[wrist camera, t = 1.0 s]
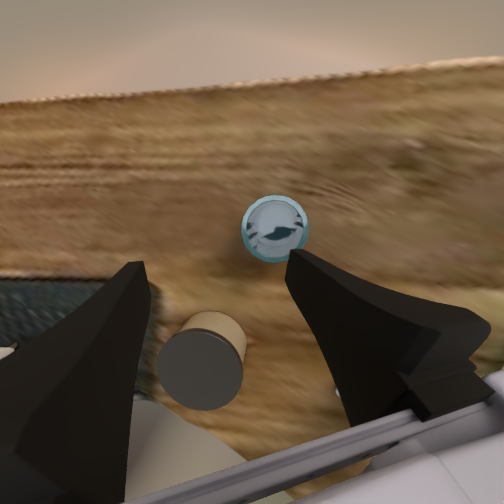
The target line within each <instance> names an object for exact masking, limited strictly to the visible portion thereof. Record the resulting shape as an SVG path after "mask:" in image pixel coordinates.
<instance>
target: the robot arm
mask: <svg viewBox="0 0 504 504" xmlns="http://www.w3.org/2000/svg"><path fill="white" fill-rule="evenodd" d="M285 282H286V284H287V287H288V289H289V292H290V294H291V296H292V298H293V300H294V301H295V303H296V305H297V307H298V308H299V310H300V312H301V313H302V315H303V317H304V318H305V320H306V322H307V323H308V325H309V327H310V328H311V330H312V332H313V334H314V336H315V338H316V340H317V342H318V344H319V346H320V349H321V351H322V353H323V355H324V358H325V360H326V362H327V365H328V367H329V369H330V372H331V374H332V377H333V379H334V382H335V384H336V388H335V393H336V395H337V396H339V397H341V400H342V403H343V406H344V409H345V412H346V414H347V417H348V420H349V423H350V426H351V428H349V429H346V430H343V431H340V432H337V433H333V434H330V435H327V436H324V437H321V438H318V439H315V440H312V441H309V442H306V443H303V444H300V445H297V446H294V447H291V448H288V449H285V450H282V451H279V452H276V453H273V454H270V455H266V456H263V457H260V458H257V459H254V460H251V461H248V462H245V463H242V464H239V465H236V466H233V467H230V468H227V469H224V470H221V471H218V472H215V473H212V474H209V475H206V476H203V477H200V478H196V479H194V480H190V481H187V482H184V483H181V484H178V485H175V486H172V487H169V488H166V489H163V490H160V491H157V492H154V493H151V494H148V495H145V496H142V497H139V498H136V499H133V500H130V501H127V502H124V499H125V498H124V497H125V483H126V471H127V457H128V446H129V435H130V423H131V415H132V406H133V405H132V404H133V396H134V388H135V380H136V373H137V367H138V362H139V357H140V353H141V349H142V344H143V340H144V336H145V332H146V327H147V323H148V318H149V313H150V302H151V293H150V288H149V284H148V280H147V275H146V271H145V267H144V262H143V261H136V262H128V263H127V264H126V265H125V266H124V267H123V268H121V269H120V270H119V271H118V272H117V273H116V274H115V275H114V276H113V277H112V278H111V279H110V280H109V281H108V282H107V283H106V284H105V285H104V286H103V287H101V288H100V289H99V290H98V291H97V292H96V293H95V294H93V295H92V296H91V297H90V298H89V299H88V300H86V301H85V302H84V303H83V304H82V305H80V306H79V307H78V308H77V309H76V310H74V311H73V312H72V313H70V314H69V315H68V316H66V317H65V318H64V319H62V320H61V321H59V322H58V323H57V324H55V325H54V326H53V327H51V328H50V329H48V330H47V331H45V332H44V333H42V334H41V335H39V336H37V337H36V338H34V339H33V340H31V341H30V342H28V343H26V344H25V345H23V346H22V347H20V348H19V349H17V350H15V351H14V352H12V353H11V354H9V355H7V356H6V357H4V358H2V359H0V504H249V503H251V502H254V501H256V500H259V499H262V498H264V497H267V496H270V495H272V494H275V493H278V492H280V491H283V490H286V489H288V488H291V487H293V486H296V485H299V484H301V483H304V482H307V481H309V480H312V479H315V478H317V477H320V476H322V475H325V474H328V473H330V472H333V471H336V470H338V469H341V468H344V467H346V466H349V465H352V464H354V463H357V462H359V461H362V460H365V459H367V458H370V457H373V456H375V455H378V454H379V455H378V456H376V457H374V458H372V459H371V461H370V463H369V465H368V466H367V468H366V469H365V470H364V471H363V472H362V473H361V474H359V475H358V476H356V477H353V478H351V479H348V480H345V481H342V482H339V483H337V484H334V485H332V486H329V487H327V488H324V489H322V490H319V491H317V492H314V493H312V494H309V495H307V496H305V497H302V498H300V499H297V500H295V501H293V502H290V503H288V504H504V369H503V370H500V371H497V372H493V373H490V374H488V375H486V376H484V377H482V378H480V377H479V376H478V375H476V374H475V373H474V372H473V371H474V370H476V369H477V368H476V365H474V364H473V363H472V362H471V361H470V360H469V359H468V358H469V357H470V356H471V355H472V354H473V353H474V352H475V351H476V350H477V349H478V348H479V347H480V346H481V345H482V343H483V342H484V341H485V340H486V339H487V337H488V336H489V334H490V332H491V325H490V324H489V322H487V321H486V320H484V319H483V318H481V317H480V316H478V315H477V314H475V313H474V312H472V311H470V310H468V309H466V308H462V307H457V306H452V305H447V304H442V303H438V302H433V301H429V300H425V299H421V298H417V297H413V296H410V295H406V294H403V293H399V292H396V291H393V290H390V289H387V288H384V287H381V286H379V285H376V284H373V283H371V282H368V281H366V280H363V279H361V278H359V277H356V276H354V275H352V274H350V273H348V272H346V271H344V270H342V269H340V268H338V267H336V266H334V265H332V264H330V263H328V262H326V261H324V260H323V259H321V258H319V257H317V256H315V255H313V254H311V253H310V252H308V251H305V250H303V249H301V248H300V249H290V253H289V259H288V264H287V270H286V275H285Z"/></svg>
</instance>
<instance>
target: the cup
mask: <svg viewBox="0 0 504 504" xmlns="http://www.w3.org/2000/svg"><path fill="white" fill-rule="evenodd" d="M308 234H309V223H308V218H307V215H306V213H305V211H304V210H303V209H302V207H301V206H300V204H298V203H297V202H296V201H294V200H292V199H291V198H289V197H287V196H282V195H275V194H272V195H268V196H265V197H261V198H259V199H258V200H256V201H255V202H254V203H253V204H251V205H250V206H249V207H248V209H247V211H246V212H245V214H244V216H243V218H242V224H241V235H242V239H243V243H244V245H245V246H246V247H247V249H248V250H249V251H250V253H251V254H252V255H254V256H255V257H257V258H258V259H260V260H262V261H265V262H271V263H279V262H283V261H288V259H289V253H290V249H300V248H301V249H302V248H303V247H304V245H305V244H306V242H307V239H308Z"/></svg>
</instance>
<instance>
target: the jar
mask: <svg viewBox="0 0 504 504" xmlns="http://www.w3.org/2000/svg"><path fill="white" fill-rule="evenodd" d="M246 350H247V342H246V337H245V334H244V332H243V330H242V328H241V327H240V326H239V324H238V323H237V322H236V321H235V320H233V319H232V318H231V317H229V316H227V315H225V314H223V313H220V312H215V311H205V312H201V313H198V314H195V315H193V316H192V317H190V318H189V319H188V320H187V321H186V322H185V323H184V325H183V326H182V327H181V328H180V329H179V331H178V332H177V333H176V334H174V335H173V336H172V337H171V338H170V339H169V340H168V341H167V342H166V343H165V344H164V345H163V347H162V348H161V350H160V352H159V355H158V359H157V373H158V377H159V380H160V382H161V385H162V386H163V388H164V389H165V391H166V392H167V393H168V394H169V395H170V397H172V398H173V399H174V400H175V401H177V402H178V403H180V404H182V405H183V406H186V407H188V408H191V409H195V410H204V411H206V410H214V409H218V408H221V407H223V406H225V405H226V404H228V403H229V402H230V401H232V400H233V399H234V397H235V396H236V395H237V393H238V392H239V389H240V387H241V383H242V379H243V364H244V360H245V355H246Z"/></svg>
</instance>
